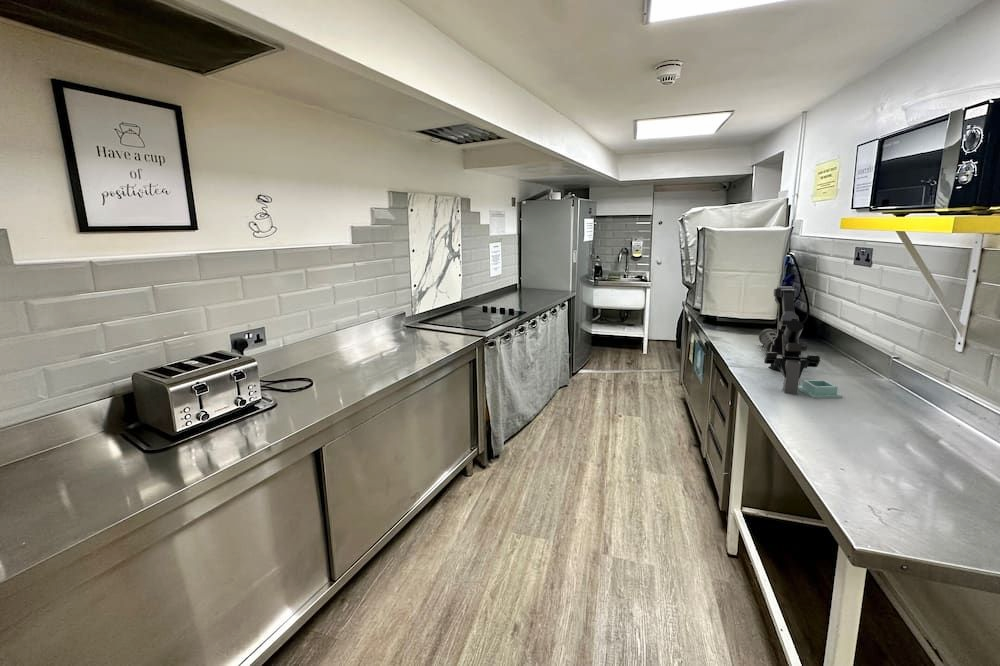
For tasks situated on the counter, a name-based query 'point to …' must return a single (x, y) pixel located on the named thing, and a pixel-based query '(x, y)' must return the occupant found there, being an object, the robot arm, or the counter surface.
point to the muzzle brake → (767, 338)
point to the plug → (791, 376)
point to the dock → (819, 389)
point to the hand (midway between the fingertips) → (792, 377)
